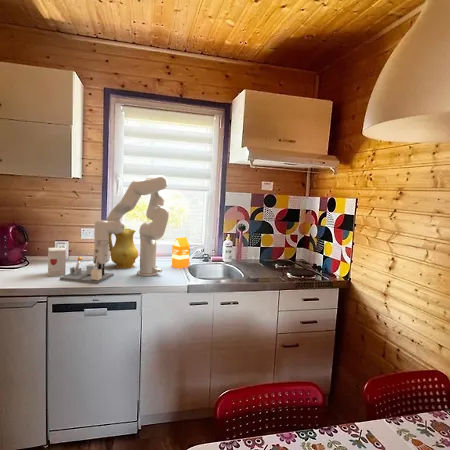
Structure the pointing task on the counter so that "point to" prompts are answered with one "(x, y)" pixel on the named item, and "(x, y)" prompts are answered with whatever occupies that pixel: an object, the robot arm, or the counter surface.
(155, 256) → the robot arm
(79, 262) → the lever
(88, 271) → the white cube
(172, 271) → the counter surface
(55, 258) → the supplement box
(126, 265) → the pitcher
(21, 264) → the counter surface
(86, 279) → the panel
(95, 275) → the cream slider
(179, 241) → the orange juice
